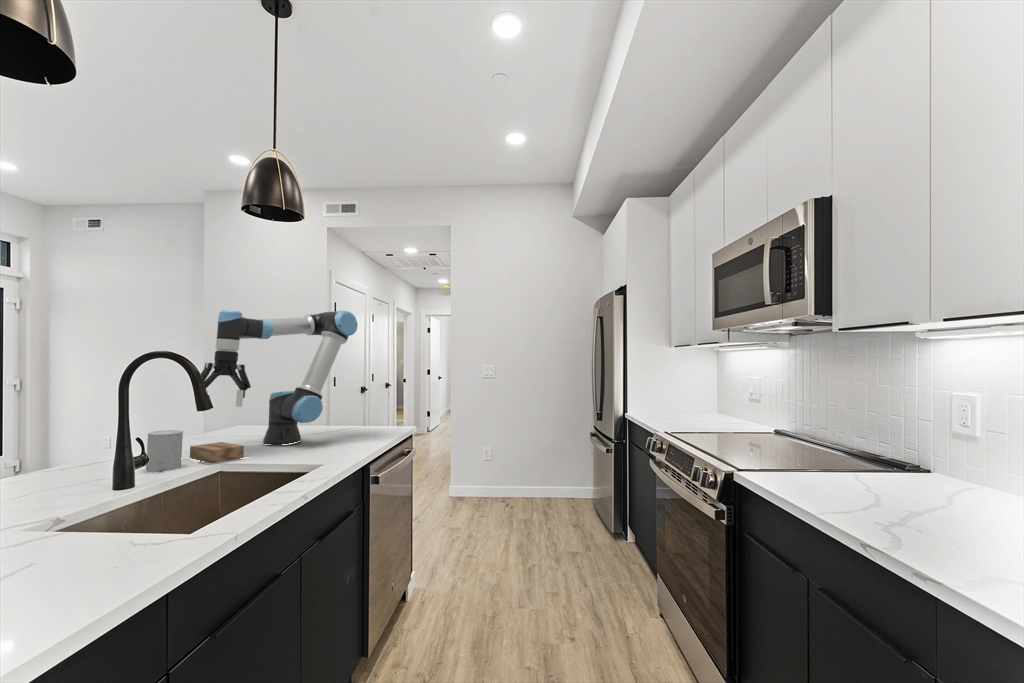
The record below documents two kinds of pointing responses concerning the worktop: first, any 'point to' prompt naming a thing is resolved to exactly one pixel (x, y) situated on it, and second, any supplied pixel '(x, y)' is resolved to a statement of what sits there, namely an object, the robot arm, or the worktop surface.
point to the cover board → (216, 452)
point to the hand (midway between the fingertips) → (221, 407)
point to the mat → (217, 462)
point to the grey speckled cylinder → (164, 450)
